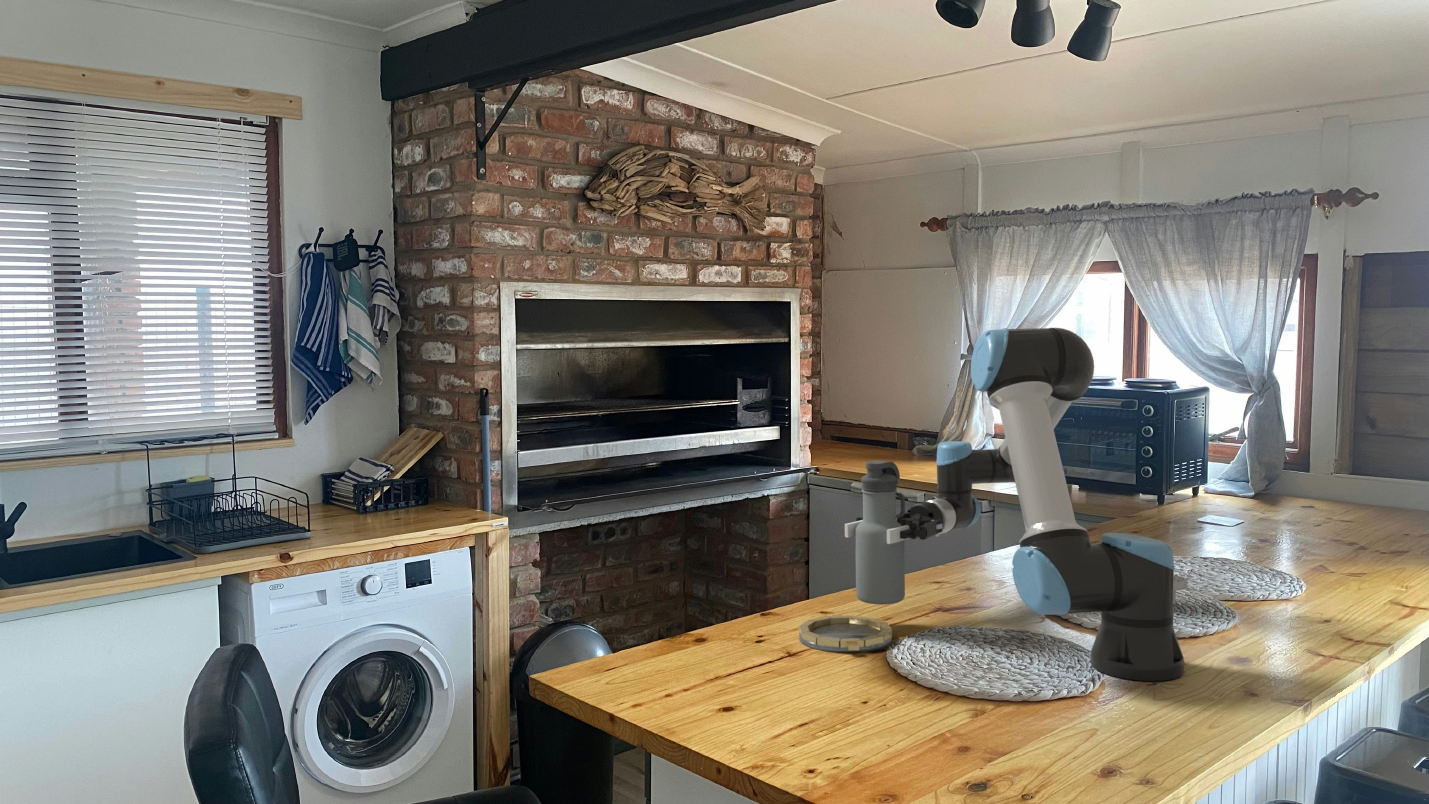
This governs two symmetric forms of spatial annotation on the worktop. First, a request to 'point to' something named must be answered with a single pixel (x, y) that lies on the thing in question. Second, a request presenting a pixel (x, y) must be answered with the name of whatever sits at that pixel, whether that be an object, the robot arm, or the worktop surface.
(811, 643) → the collar
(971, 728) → the worktop surface
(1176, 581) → the showerhead
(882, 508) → the water bottle
